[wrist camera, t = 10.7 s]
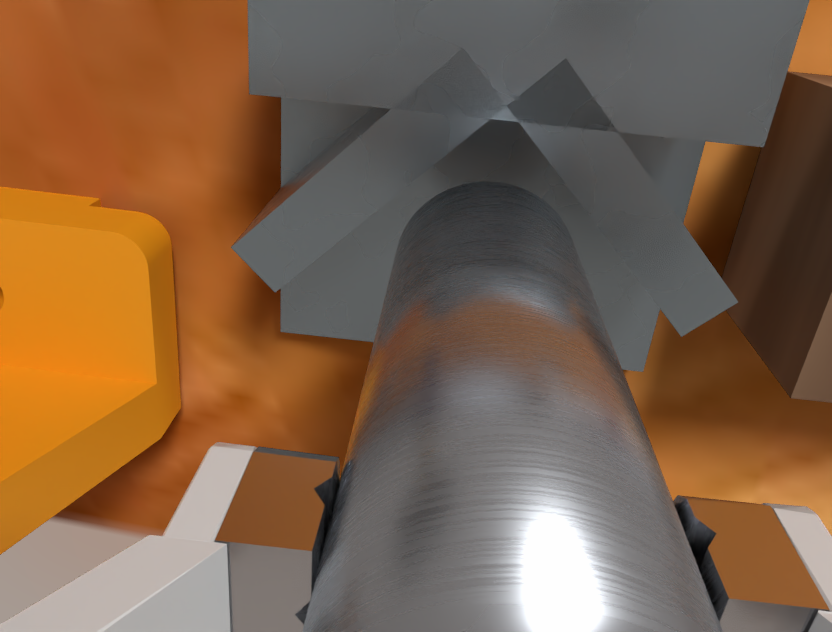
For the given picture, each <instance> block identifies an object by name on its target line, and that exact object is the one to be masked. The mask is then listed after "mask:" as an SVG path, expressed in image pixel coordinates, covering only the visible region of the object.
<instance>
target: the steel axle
mask: <svg viewBox="0 0 832 632" xmlns="http://www.w3.org/2000/svg"><path fill="white" fill-rule="evenodd" d="M302 632H723V630H722V628H721V625H720V623H719V620H718V617H717V615H716V612H715V610H714V607H713V604H712V602H711V599H710V597H709V594H708V591H707V589H706V586H705V584H704V581H703V578H702V576H701V573H700V571H699V568H698V565H697V563H696V560H695V558H694V555H693V552H692V550H691V547H690V545H689V542H688V539H687V537H686V534H685V531H684V529H683V526H682V524H681V521H680V518H679V516H678V513H677V511H676V508H675V505H674V503H673V500H672V498H671V495H670V492H669V490H668V487H667V485H666V482H665V479H664V477H663V474H662V472H661V469H660V466H659V464H658V461H657V459H656V456H655V453H654V451H653V448H652V446H651V443H650V440H649V438H648V435H647V433H646V430H645V427H644V425H643V422H642V420H641V417H640V414H639V412H638V409H637V407H636V404H635V401H634V399H633V396H632V394H631V391H630V388H629V386H628V383H627V381H626V378H625V375H624V373H623V370H622V367H621V365H620V362H619V360H618V357H617V354H616V352H615V349H614V347H613V344H612V341H611V339H610V336H609V334H608V331H607V328H606V326H605V323H604V321H603V318H602V315H601V313H600V310H599V308H598V305H597V302H596V300H595V297H594V295H593V292H592V289H591V287H590V284H589V282H588V279H587V276H586V274H585V271H584V269H583V266H582V263H581V261H580V258H579V256H578V253H577V250H576V248H575V245H574V243H573V240H572V237H571V235H570V233H569V231H568V229H567V226H566V225H565V223H564V222H563V220H562V219H561V217H560V216H559V214H558V213H557V212H556V211H555V210H554V209H553V208H552V207H551V206H550V205H549V204H548V203H547V202H545V201H544V200H543V199H542V198H540V197H538V196H537V195H535V194H534V193H532V192H530V191H528V190H526V189H523V188H521V187H518V186H515V185H511V184H507V183H501V182H490V181H482V182H471V183H467V184H462V185H459V186H456V187H453V188H450V189H448V190H446V191H444V192H442V193H440V194H438V195H436V196H435V197H433V198H432V199H430V200H429V201H427V202H426V203H425V204H424V205H423V206H422V207H421V208H420V209H419V210H418V211H417V212H416V213H415V214H414V215H413V217H412V218H411V219H410V221H409V222H408V224H407V225H406V227H405V228H404V231H403V233H402V235H401V237H400V240H399V243H398V246H397V250H396V254H395V258H394V262H393V266H392V270H391V274H390V278H389V282H388V286H387V290H386V294H385V298H384V302H383V306H382V311H381V315H380V319H379V323H378V327H377V331H376V335H375V339H374V343H373V347H372V351H371V355H370V359H369V363H368V367H367V371H366V375H365V379H364V383H363V387H362V392H361V396H360V400H359V404H358V408H357V412H356V416H355V420H354V424H353V428H352V432H351V436H350V440H349V444H348V448H347V452H346V456H345V460H344V464H343V468H342V473H341V477H340V481H339V485H338V489H337V493H336V498H335V502H334V506H333V510H332V514H331V518H330V521H329V525H328V529H327V533H326V537H325V541H324V546H323V550H322V554H321V558H320V563H319V567H318V571H317V575H316V579H315V583H314V587H313V591H312V595H311V598H310V602H309V606H308V610H307V614H306V618H305V622H304V626H303V631H302Z"/></svg>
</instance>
